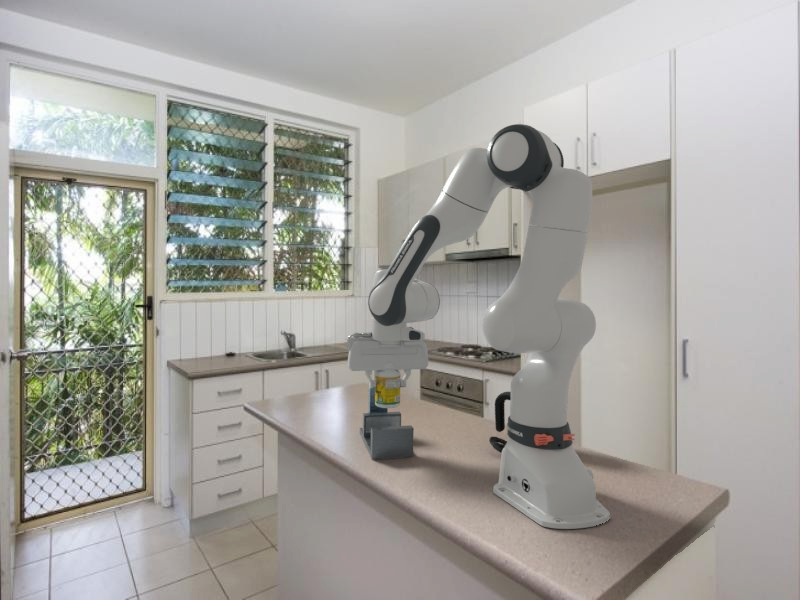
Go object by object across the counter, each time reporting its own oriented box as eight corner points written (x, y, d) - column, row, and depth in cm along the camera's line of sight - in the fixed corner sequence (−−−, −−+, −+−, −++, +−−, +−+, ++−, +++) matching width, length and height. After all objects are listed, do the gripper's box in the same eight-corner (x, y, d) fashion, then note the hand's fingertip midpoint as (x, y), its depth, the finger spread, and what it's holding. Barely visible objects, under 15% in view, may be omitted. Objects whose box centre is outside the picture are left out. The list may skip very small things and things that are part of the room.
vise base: (413, 456, 108) (413, 428, 108) (372, 459, 106) (372, 430, 105) (394, 431, 127) (394, 406, 127) (359, 433, 125) (359, 408, 125)
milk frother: (547, 443, 119) (548, 387, 119) (549, 465, 104) (550, 401, 104) (492, 437, 123) (493, 383, 123) (487, 457, 108) (488, 396, 108)
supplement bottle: (403, 407, 111) (403, 362, 110) (378, 409, 109) (378, 363, 109) (395, 401, 117) (396, 358, 117) (372, 402, 115) (373, 358, 115)
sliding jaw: (401, 434, 120) (402, 388, 119) (364, 436, 117) (364, 389, 117) (394, 424, 128) (394, 381, 128) (359, 426, 126) (359, 382, 125)
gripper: (348, 334, 107) (348, 391, 107) (430, 333, 112) (429, 388, 112) (345, 331, 113) (344, 386, 113) (423, 331, 118) (422, 383, 118)
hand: (387, 387), depth 113 cm, fingers closed on supplement bottle, 6 cm apart
